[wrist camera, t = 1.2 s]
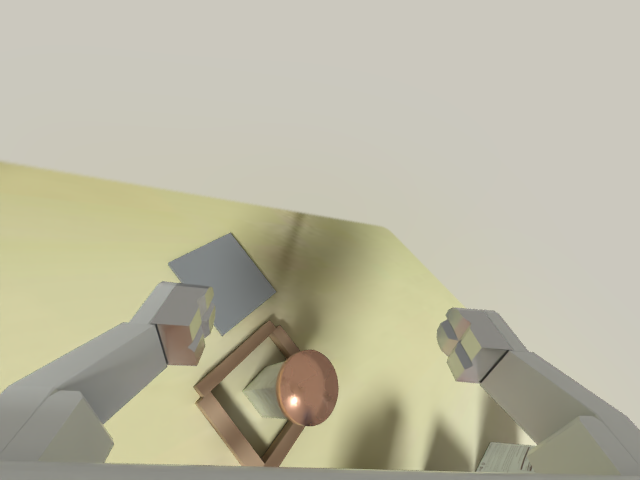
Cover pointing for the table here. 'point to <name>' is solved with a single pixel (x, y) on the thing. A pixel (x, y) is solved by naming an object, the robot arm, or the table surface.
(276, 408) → the copper-capped steel post
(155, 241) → the table surface
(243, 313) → the charcoal mat
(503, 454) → the supplement box
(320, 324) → the table surface
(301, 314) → the table surface
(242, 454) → the brown wooden square frame
